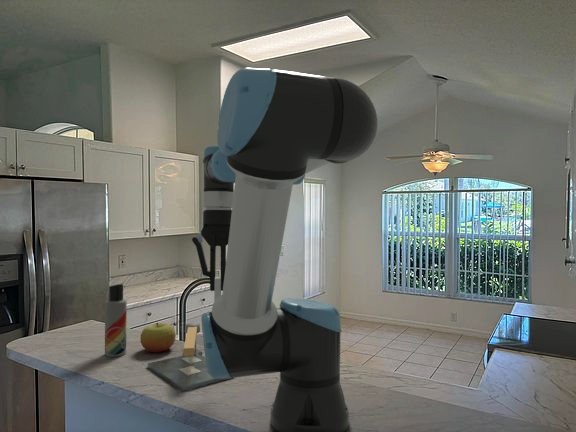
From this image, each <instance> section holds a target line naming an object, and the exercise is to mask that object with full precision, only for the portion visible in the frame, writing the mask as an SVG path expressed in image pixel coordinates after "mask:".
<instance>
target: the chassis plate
mask: <svg viewBox="0 0 576 432" xmlns="http://www.w3.org/2000/svg"><path fill="white" fill-rule="evenodd" d="M147 368H148V369H149V370H151V371H152V372H154V373H155V374H156V375H158V376H159V377H161V378H162V379H164V380H165V381H167V382H168V383H169V384H171V385H172V386H173V387H175V388H176V389H177V390H179V391H180V392H181V393H183V392H186V391H187V392H188V391H190V390H193V389H197V388H201V387H205V386H208V385H211V384H216V383H218V382H219V383H220V382H221V381H225V380H229V378H222V379H215V378H213V377H211V376H210V375H209V373H208V370H207V364H206V358H205V356H203V354H202V355H200V354H198V353H194V356H184V354H182V355H179V356H174V357H170V358H165V359H161V360H156V361H151V362H148V363H147Z"/></svg>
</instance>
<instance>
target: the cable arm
mask: <svg viewBox="0 0 576 432" xmlns="http://www.w3.org/2000/svg"><path fill="white" fill-rule="evenodd" d="M199 333H201V322H188V323H186V324H185V334H186V336H185V341H184V345H183V351H184V354H183V355H184V356H194V351H195V344H196V345H197V337H198V336H197V335H198V334H199Z"/></svg>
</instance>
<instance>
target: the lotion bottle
mask: <svg viewBox="0 0 576 432" xmlns="http://www.w3.org/2000/svg"><path fill="white" fill-rule="evenodd" d="M127 303H128V301H127V300H126V299H124V284H122V283H117V284H113V285H109V286H108V300H106V301H105V303H104V355H105V357H107V358H108V357H109V358H116V357H120V356H124V355H125V354H126V353H127V318H128V317H127V316H128V315H127V308H128V307H127V305H128V304H127Z"/></svg>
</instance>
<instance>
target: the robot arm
mask: <svg viewBox="0 0 576 432" xmlns="http://www.w3.org/2000/svg"><path fill="white" fill-rule="evenodd" d="M228 81H229V82H228V83H227V85H226V88H225V91H224V94H223V96H222V97H223V98H222V102H221V105H220V111H219V116H218V130H217V136H216V137H217V145H210V146H207V147H205V148H204V151H203V159H202V163H203V192H202V194H203V196H202V197H203V199H202V200H203V201H202V203H203V205H202V207H203V208H204V210H203V211H202V215H203V217H202V229H200V233H199V234H197V235H196V236H193V237H192V238H191V242H192V243H193V244H194V246H195V247H196V248H195V249H196V251H197V256H198V261H199V264H200V268H201V273H202V275H203V276H205V277H208V278H209V290H210V291H211V292H213V293H214V296H213V297H214V302H213V304H212V308H211V311H207V312H204V313H202V314H201V332H202V339H203V341H202V342H203V348H204V349H203V350H204V357H205V358H206V364H207V370H208V373H209V375H210V376H211V377H213V378H215V379H222V378H229V379H230V380H231V379H234V378H235V379H236V378H244V377H252V376H258V375H259V376H260V375H268V374H275V373H279V383H278V386H277V390H276V394H275V397H274V401H273V402H272V404H271V407H270V424H271V426H272V428H273V429H274V430H275V431H276V432H346V431H347V429H348V428H349V425H350V420H349V419H350V418H349V416H350V414H349V413H350V412H349V407H348V405H347V404H346V401H345V399H346V398H345V395H344V391H343V388H342V385H341V380H340V379H341V335H342V334H341V333H342V328H341V315H340V311H339V310H338V308H336V306H334V305H332V304H330V303H326V302H322V301H318V300H313V299H308V298H298V297H297V298H295V297H293V298H292V297H290V298H283V299H282V300H281V301H280V303H279V307H277V306H276V305H275V303H274V302H273V295H274V291H275V290H274V289H275V285H276V279H277V273H278V267H279V262H280V258H281V257H280V256H281V252H282V246H283V242H284V241H283V239H284V235H285V230H286V229H285V228H286V223H287V217H288V213H289V207H290V201H291V196H292V190H293V185H296V186H297V185H300V184H302V183H303V181H304V179H305V178H306V174H308V173H311V172H312V171H314V170H317V169H319V168H322V167H323V166H326V165H328V164H336V165H337V164H338V165H339V164H344V163H345V164H346V163H347V162H350V161H352V160H354V159H356V158H359V157H360V156H362V155H363V154H364V153H366V152H367V151H368V150H369V149H370V147H371V146H372V144H373V142H374V140H375V138H376V135H377V130H378V116H377V115H378V114H377V110H376V108H375V106H374V102H373V101H372V99H371V98H370V96H369V95H368V94H367V92H365V90H363V89H362V88H361V87H359V86H358V85H357V84H355V83H353V82H352V81H350V80H347V79H345V78H342V77H341V78H340V77H334V76H324V75H316V74H308V73H302V72H297V71H288V70H281V69H274V68H270V67H267V68H260V67H257V68H256V67H244V68H240V69H238V70H237V71H236V72H234V74H232V76H231V78H230V79H229V80H228ZM203 239H204V240H205V242H206V243H207V244H208V246H209V269H208V265H207V261H206V257H205V252H204V248H203V245H202V243H203ZM217 247H220V276H216V268H217V267H216V266H217V265H216V262H217V261H216V254H217V253H216V252H217ZM229 379H228V380H229Z"/></svg>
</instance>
